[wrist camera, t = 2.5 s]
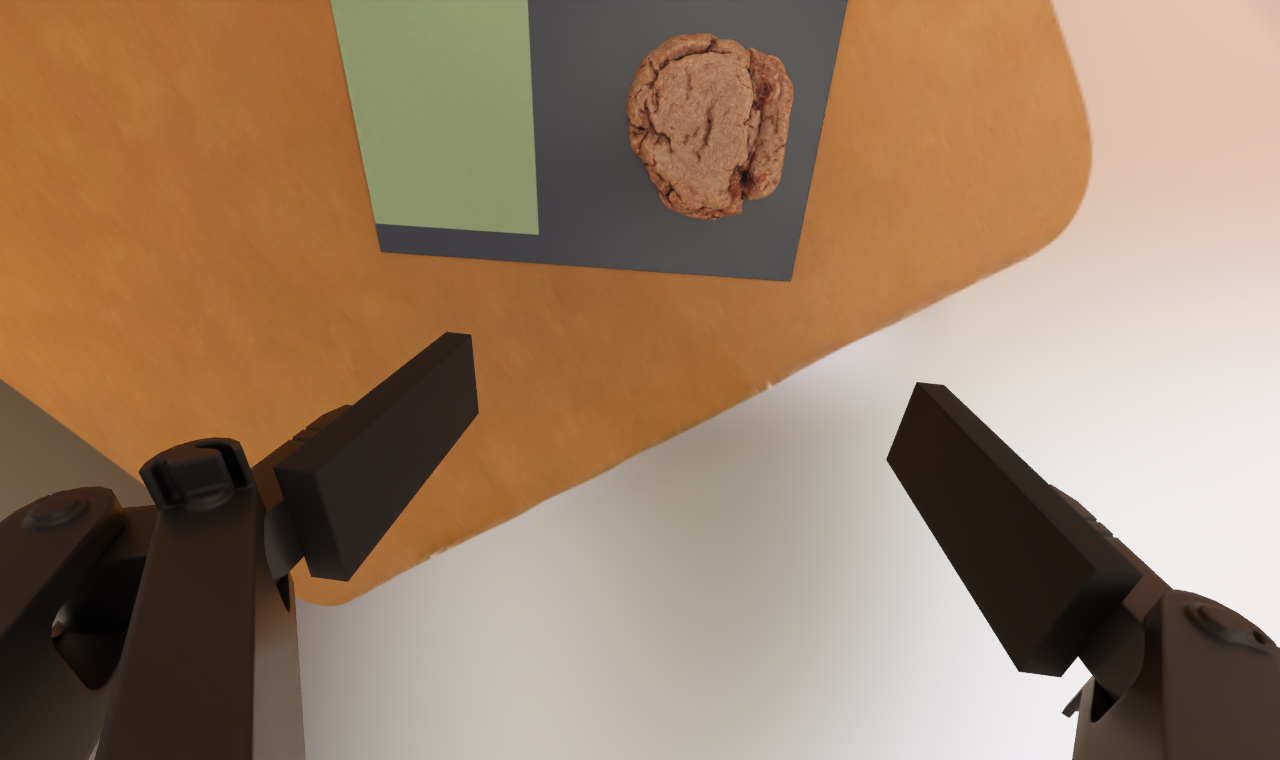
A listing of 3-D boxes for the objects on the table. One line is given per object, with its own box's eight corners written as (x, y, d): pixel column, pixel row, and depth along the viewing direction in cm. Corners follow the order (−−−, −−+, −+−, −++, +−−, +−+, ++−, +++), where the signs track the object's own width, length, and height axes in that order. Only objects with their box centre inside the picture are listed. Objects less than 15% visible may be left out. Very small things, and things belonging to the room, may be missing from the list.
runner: (318, -71, 27) (315, -72, 26) (857, -51, 25) (858, -53, 25) (382, 251, 35) (380, 251, 35) (790, 280, 33) (790, 281, 33)
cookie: (671, -6, 26) (669, -22, 24) (826, 94, 28) (841, 90, 25) (597, 166, 31) (588, 168, 28) (734, 244, 32) (739, 254, 30)
